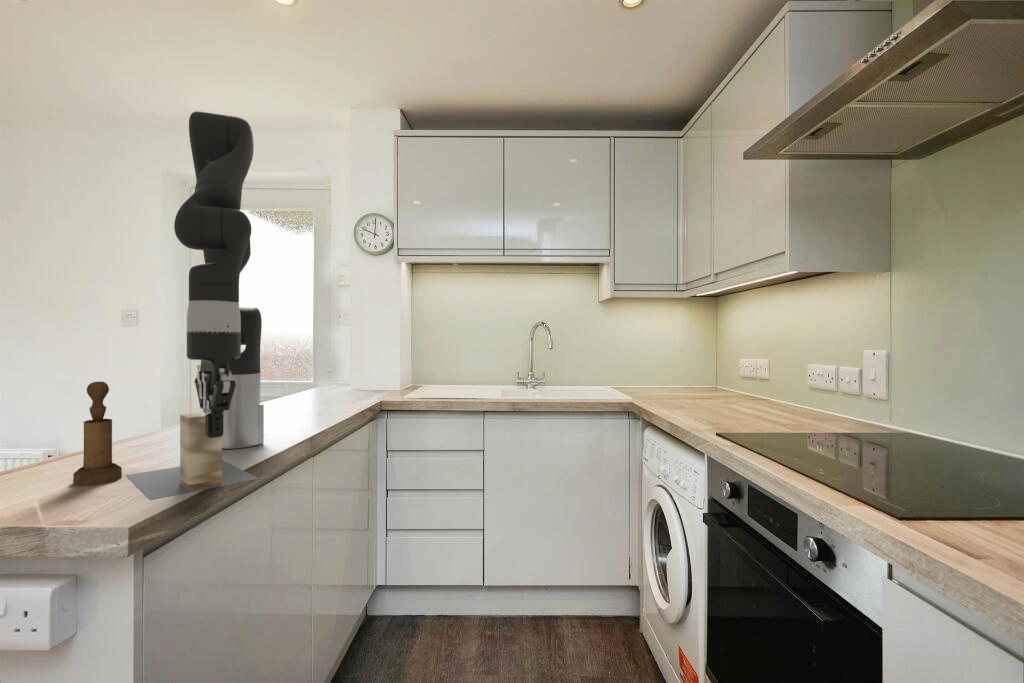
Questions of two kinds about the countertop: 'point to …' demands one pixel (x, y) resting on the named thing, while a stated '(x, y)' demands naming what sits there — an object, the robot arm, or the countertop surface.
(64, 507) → the countertop surface
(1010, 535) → the countertop surface
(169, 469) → the slate mat
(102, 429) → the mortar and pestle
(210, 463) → the maple block
